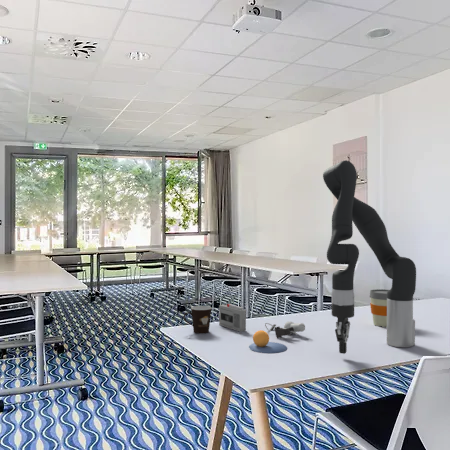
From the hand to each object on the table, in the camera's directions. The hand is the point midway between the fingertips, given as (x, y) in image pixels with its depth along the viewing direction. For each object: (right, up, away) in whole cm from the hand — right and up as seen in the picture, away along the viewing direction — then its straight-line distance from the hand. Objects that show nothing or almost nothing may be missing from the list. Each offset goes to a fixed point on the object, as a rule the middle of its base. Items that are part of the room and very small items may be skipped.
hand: (342, 352), depth 156 cm
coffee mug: (-52, -1, +36) cm, 63 cm away
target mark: (-24, -2, +13) cm, 28 cm away
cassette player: (-37, -2, +43) cm, 57 cm away
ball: (-27, +1, +14) cm, 30 cm away
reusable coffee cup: (+31, -1, +49) cm, 58 cm away
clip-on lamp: (-16, -2, +32) cm, 36 cm away
